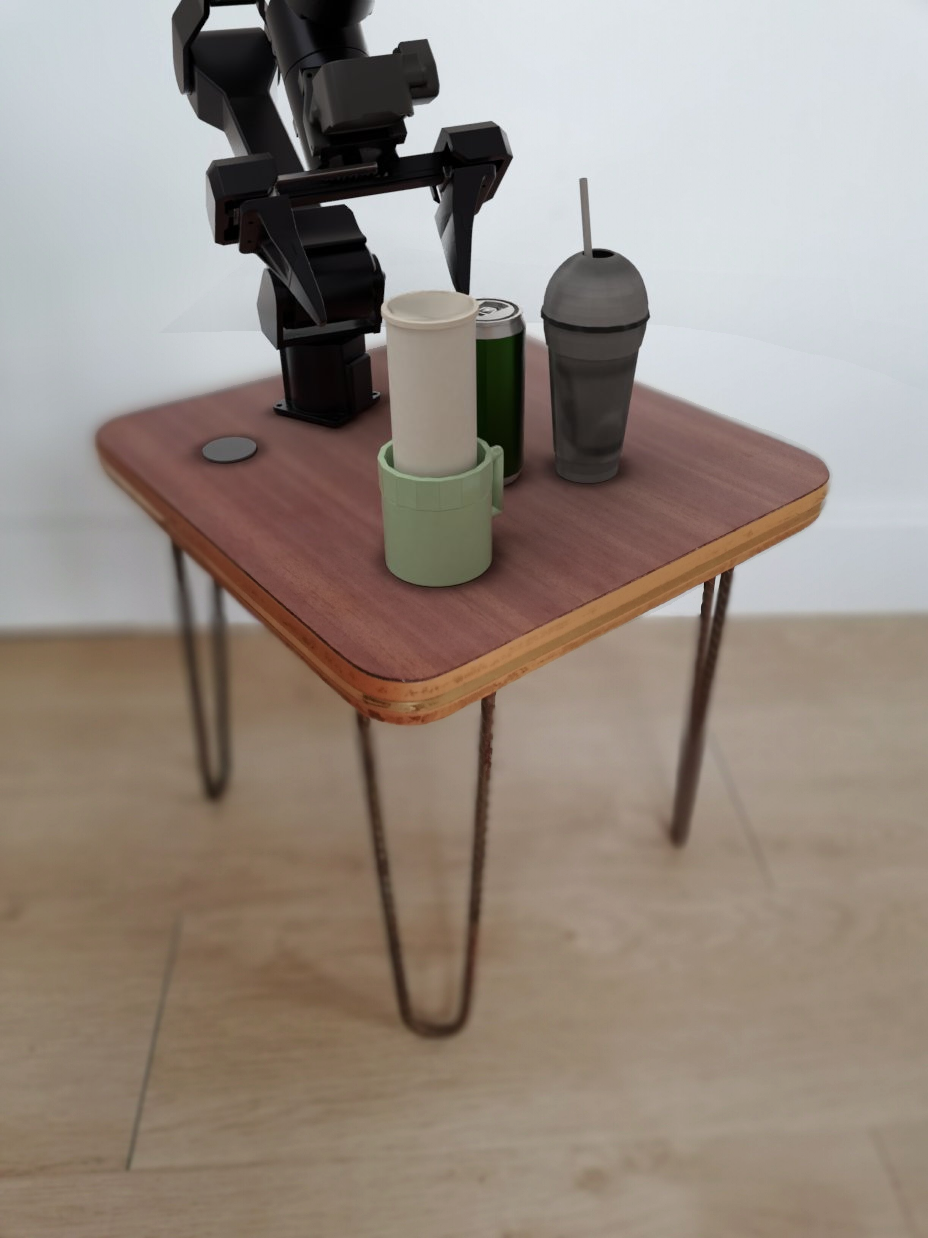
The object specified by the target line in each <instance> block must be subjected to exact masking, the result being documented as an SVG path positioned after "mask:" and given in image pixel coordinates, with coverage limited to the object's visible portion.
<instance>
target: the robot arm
mask: <svg viewBox="0 0 928 1238" xmlns="http://www.w3.org/2000/svg"><path fill="white" fill-rule="evenodd" d="M376 2H377V0H269V1H268V2H267V1H266V0H180V1H179V2H178V4H177V6H176V8H175V10H174V11H173V13H172V16H171V40H172V41H171V42H172V44H171V45H172V62H173V64H172V65H173V70H174V76H175V81H176V84H177V87H178V91H179V93H180V94H181V95H182V96H186V97H187V100H188V102H189V104H190V106H191V108H192V110H193V112H194V114H195V115H196V117H197V119H198V120H200V121H201V122H203V123H205V124H207V125H209V126H211V127H213V128H215V129H217V130H219V131H220V132H222V133H224V135H225V136H226V139H227V141H228V143H229V146H230V148H231V151H232V154H233V157H225V158H219V159H218V158H217V159H212V161H211V162H210V164H209V166H208V167H207V169H206V171H205V208H206V213H207V219H208V223H209V226H210V230H211V234H212V237H213V241H214V244H217V245H220V246H223V247H224V246H231V245H236V246H237V249H238V252H239V253H240V254H242V255H250V254H254V255H256V256H257V258H259V259H260V260H261V261H262V262H263V263H264V264H265V268H263V270H262V275H261V280H260V284H259V289H258V295H257V298H256V309H257V314H258V319H259V325H260V330H261V332H262V334H263V335H264V336H265V338H266V339H267V340H268V341H269V343H270V344H271V345H272V346H273V347H274V349H275V350H276V351H279V352H278V353H279V359H280V368H281V376H282V384H283V393H284V398H282V399H281V400H279V401H278V402H276V403H274V404H272V408H273V412H274V413H276V414H281V415H285V416H289V417H292V418H296V419H300V420H304V421H308V422H313V423H317V424H321V425H325V426H328V427H335V428H337V427H340V426H342V425H343V424H345V423H347V422H348V421H349V420H351V419H353V418H354V417H356V416H358V415H359V414H360V413H362V412H363V411H365V410H366V409H368V408H369V407H371V406H372V405H374V404H376V403H377V402H379V401H380V400H381V397H382V395H381V392H379V391H375V390H373V374H372V361H371V360H372V359H371V354H370V353H369V352H367V347H366V346H367V345H366V335H369V334H373V335H376V334H381V331H382V324H383V320H384V319H383V318H382V315H381V306H382V304H383V303H384V302H385V291H386V279H387V275H386V273H385V270H383V269H382V266H381V263H380V260H379V258H378V256H377V255H376V253H374V252H372V251H371V249H370V248H369V246H368V244H367V242H368V239H367V236H366V235H365V234H364V233H363V232H362V230H361V228H360V226H359V224H358V221H357V219H356V217H355V213H354V211H353V210H352V209H351V208H350V207H349V206H348V205H346V204H345V203H341V204H332V205H324V206H323V205H322V204H325V203H332V202H338V201H345V200H351V199H358V198H365V197H370V196H376V195H377V196H378V195H383V194H389V193H395V192H403V191H409V190H417V189H421V188H429V190H430V194H431V197H432V201H433V202H435V203H436V204H438V206H437V208H436V212H435V214H434V217H433V218H434V222H435V226H436V230H437V232H438V236H439V240H440V243H441V244H440V245H441V247H442V250H443V254H444V258H445V262H446V265H447V269H448V273H449V276H450V280H451V283H452V286H453V288H454V290H455V292H458V293H462V294H466V295H468V296H470V292H471V272H472V270H471V269H472V247H473V231H474V229H473V228H474V222H475V216H476V215H478V214H479V213H480V210H481V209H482V206H483V205H484V204H485V203H488V202H489V201H491V200H493V199H494V197H495V195H496V193H497V191H498V189H499V187H500V185H501V183H502V181H503V179H504V177H505V175H506V173H507V171H508V169H509V167H510V165H511V163H512V161H513V159H514V154H513V151H512V147H511V145H510V141H509V137H508V133H507V132H506V131H505V130H504V129H503V128H502V127H501V126H500V125H499V124H498V123H496V122H495V121H493V120H488V121H487V120H486V121H479V122H473V123H467V124H460V125H451V126H445V127H441V128H440V130H439V131H440V132H439V134H438V137H437V140H436V142H435V145H434V148H433V150H432V151H431V152H426V153H419V154H412V155H406V156H400V154H399V151H398V147H397V146H398V145H404V144H405V142H406V140H407V136H408V130H407V125H406V122H405V119H407V118H412V117H414V115H415V109H414V108H415V106H423V105H429V104H431V103H432V102H433V101H434V100H435V99H436V98H437V97H438V96H439V94H440V89H441V88H440V87H441V86H440V85H441V83H440V79H439V72H438V65H437V62H436V59H435V56H434V53H433V51H432V47H431V44H430V42H429V39H428V38H422V39H421V38H420V39H414V40H405V41H399V43H398V44H397V47H395V48H394V49H393V50H392V53H386V54H379V55H378V54H377V55H371V54H370V50H369V47H368V43H367V40H366V37H365V32H364V29H363V26H362V23H361V22H362V21H364V20H366V19H367V18H368V16H370V15H372V14H373V12H374V9H375V7H376ZM252 5H255V6H256V9H257V12H258V14H259V16H260V18H261V19H262V20H263V23H264V24H263V28H262V27H261V26H256V27H255V26H253V27H252V26H251V27H240V28H225V29H212V30H211V29H210V30H203V28H204V26H205V25H206V23H207V22H208V19H209V18H210V15H211V8H220V7H236V6H252ZM281 78H282V79H281ZM281 80H282V82H283V87H284V90H285V94H286V97H287V102H288V105H289V108H290V112H291V115H292V126H293V130H294V133H295V137H296V138H298V140H299V143H300V147H301V151H302V155H303V157H304V161H305V164H306V168H307V170H306V168H305V166H304V164H303V161H302V159H301V157H300V154H299V153H298V151H297V148H296V146H295V144H294V142H293V140H292V138H291V136H290V133H289V131H288V129H287V127H286V125H285V123H284V121H283V119H282V116H281V115H280V112H279V109H278V87H279V85H280V83H281Z"/></svg>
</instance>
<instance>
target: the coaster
mask: <svg viewBox="0 0 928 1238" xmlns="http://www.w3.org/2000/svg"><path fill="white" fill-rule="evenodd" d="M256 451H257V444H256V443H255V441H254V440H251V439H249V438H246V437H241V436H228V437H221V438H219V439H215V440H212V441H210V442H208V443H207V444H206V445H204V447H203V448H202V456H203V457H204V458H205V459H206V460H208V461H209V462H213V463H219V464H228V463H229V464H232V463H238V462H241V461H244V460H246V459H249V458H251V457H252V456H253V455H254V454H255V453H256Z"/></svg>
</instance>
